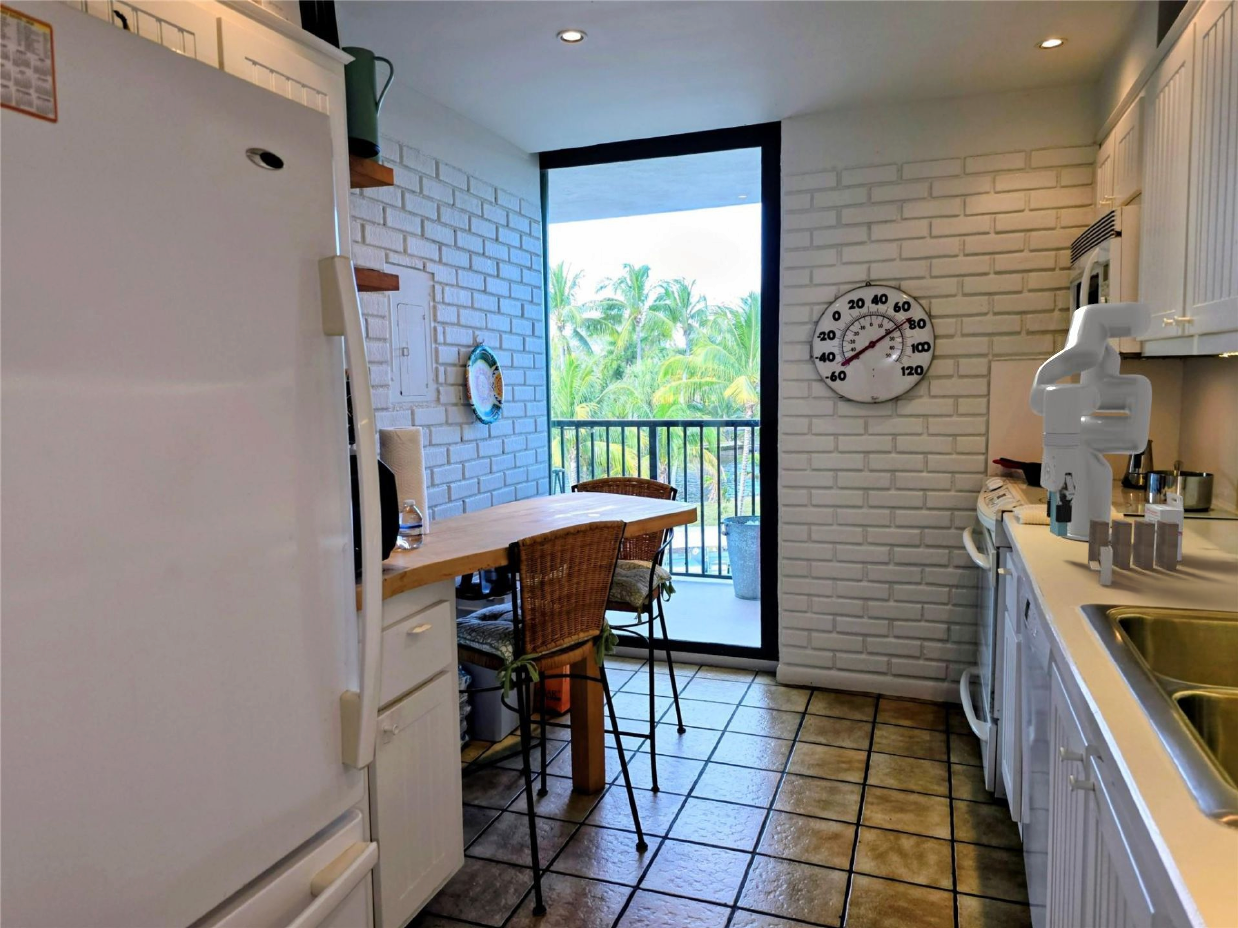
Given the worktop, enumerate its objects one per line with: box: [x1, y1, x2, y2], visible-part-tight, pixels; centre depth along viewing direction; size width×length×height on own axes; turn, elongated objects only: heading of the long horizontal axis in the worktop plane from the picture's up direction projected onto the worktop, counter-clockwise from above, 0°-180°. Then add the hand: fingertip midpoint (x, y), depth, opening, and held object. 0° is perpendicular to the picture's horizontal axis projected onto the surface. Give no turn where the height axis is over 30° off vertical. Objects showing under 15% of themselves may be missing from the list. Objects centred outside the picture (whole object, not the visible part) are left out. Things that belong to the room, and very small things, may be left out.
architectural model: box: [1089, 545, 1113, 586], centre depth 162 cm, size 3×7×7 cm, turn 153°
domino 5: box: [1154, 520, 1179, 572], centre depth 173 cm, size 5×2×10 cm, turn 170°
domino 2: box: [1087, 519, 1109, 565], centre depth 175 cm, size 5×2×10 cm, turn 170°
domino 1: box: [1049, 489, 1068, 537], centre depth 183 cm, size 5×2×10 cm, turn 170°
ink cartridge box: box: [1144, 491, 1185, 562], centre depth 184 cm, size 9×5×15 cm, turn 168°
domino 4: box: [1131, 519, 1155, 571], centre depth 174 cm, size 5×2×10 cm, turn 170°
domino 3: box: [1110, 518, 1133, 570], centre depth 174 cm, size 5×2×10 cm, turn 170°
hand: (1058, 519), depth 183 cm, fingers closed on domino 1, 4 cm apart
